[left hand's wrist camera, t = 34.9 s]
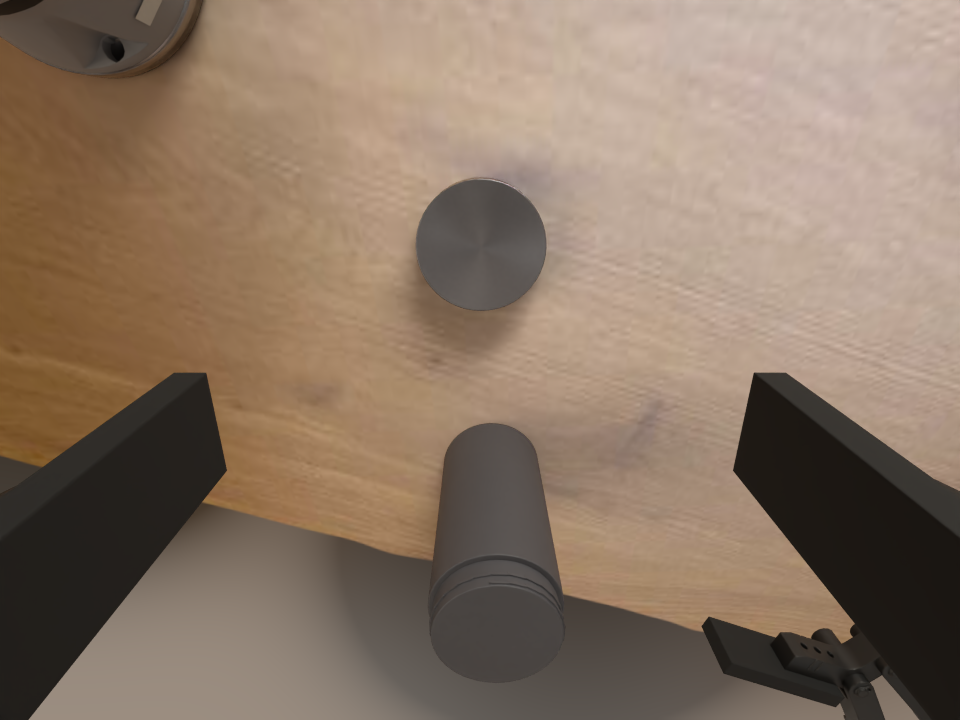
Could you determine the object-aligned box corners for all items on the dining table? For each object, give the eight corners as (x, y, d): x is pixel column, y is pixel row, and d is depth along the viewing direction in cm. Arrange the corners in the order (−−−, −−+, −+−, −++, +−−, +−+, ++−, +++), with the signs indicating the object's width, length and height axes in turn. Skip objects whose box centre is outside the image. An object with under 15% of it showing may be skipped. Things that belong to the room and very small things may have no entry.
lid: (567, 220, 39) (572, 224, 37) (501, 323, 42) (502, 332, 40) (457, 151, 37) (456, 151, 35) (397, 264, 40) (393, 270, 38)
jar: (534, 503, 48) (563, 688, 32) (444, 502, 48) (426, 686, 32) (540, 423, 45) (575, 581, 28) (444, 422, 45) (423, 579, 28)
